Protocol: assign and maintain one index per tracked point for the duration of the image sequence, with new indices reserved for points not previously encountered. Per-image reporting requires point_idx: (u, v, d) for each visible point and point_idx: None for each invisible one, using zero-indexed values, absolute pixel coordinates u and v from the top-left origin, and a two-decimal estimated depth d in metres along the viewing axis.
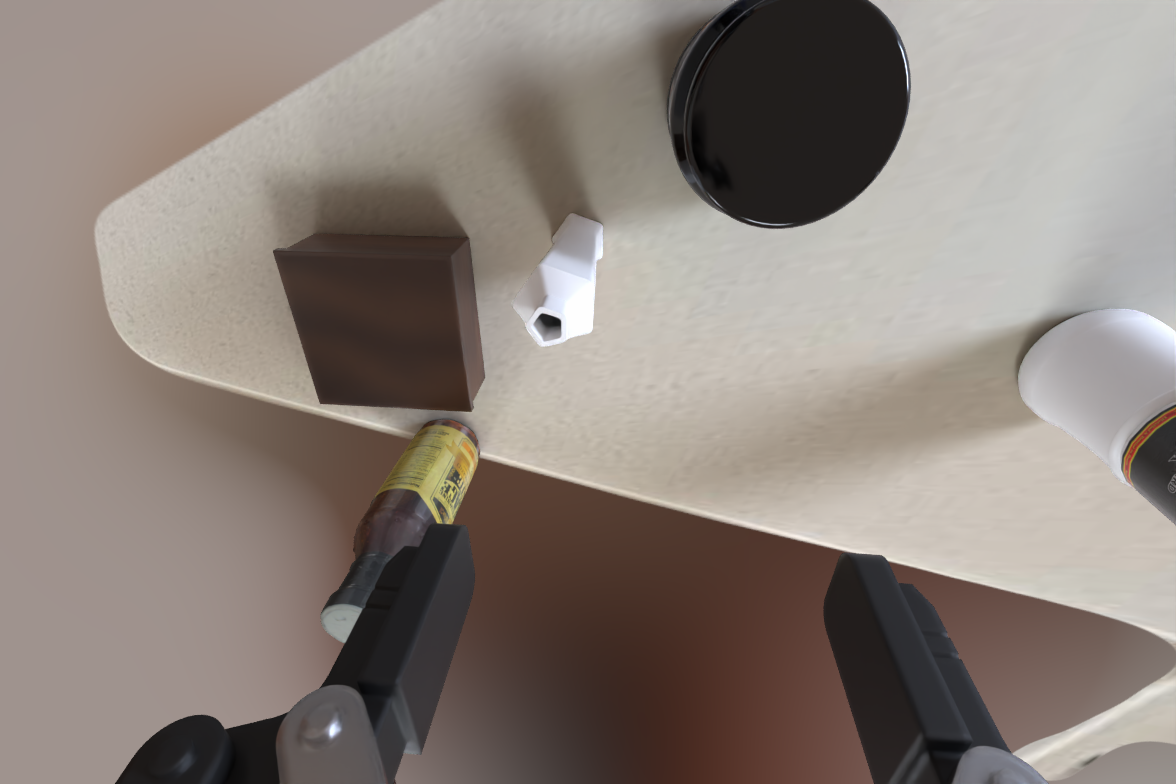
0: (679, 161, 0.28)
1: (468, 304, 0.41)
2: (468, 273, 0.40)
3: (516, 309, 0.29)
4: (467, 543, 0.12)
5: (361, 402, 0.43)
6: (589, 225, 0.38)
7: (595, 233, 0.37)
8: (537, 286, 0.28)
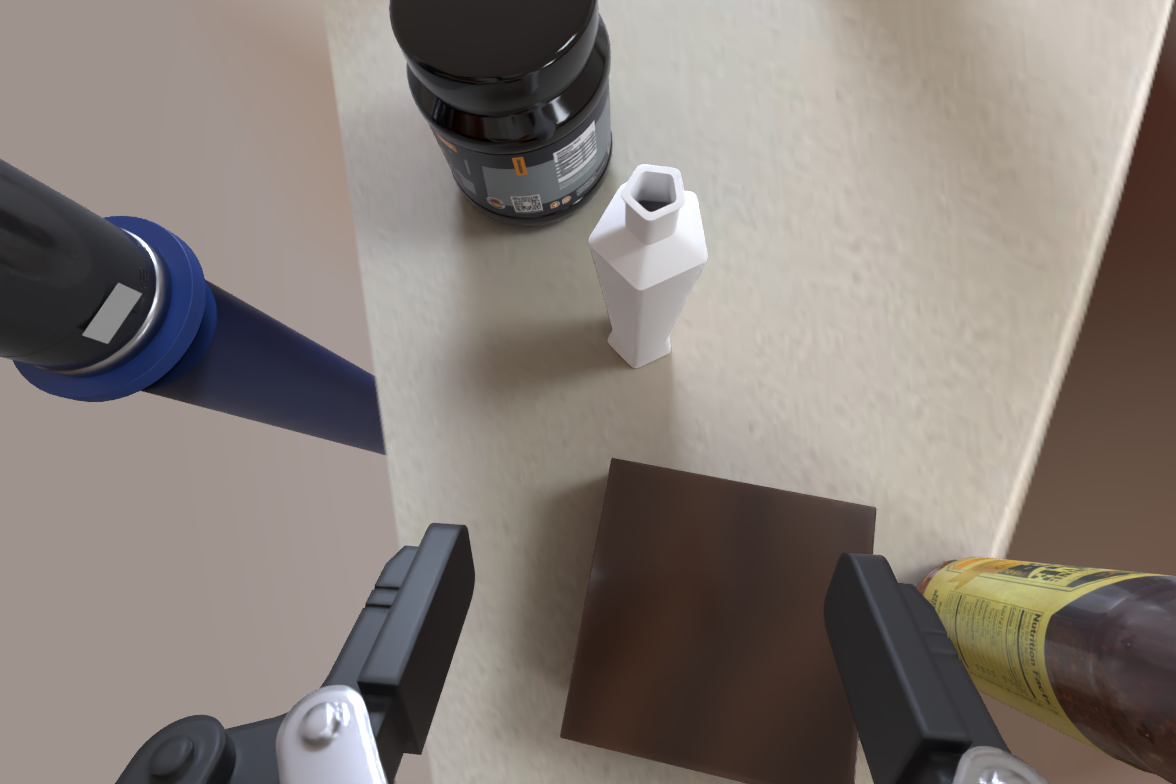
0: (529, 135, 0.26)
1: None
2: None
3: (647, 283, 0.20)
4: (467, 543, 0.12)
5: None
6: None
7: None
8: (614, 242, 0.20)
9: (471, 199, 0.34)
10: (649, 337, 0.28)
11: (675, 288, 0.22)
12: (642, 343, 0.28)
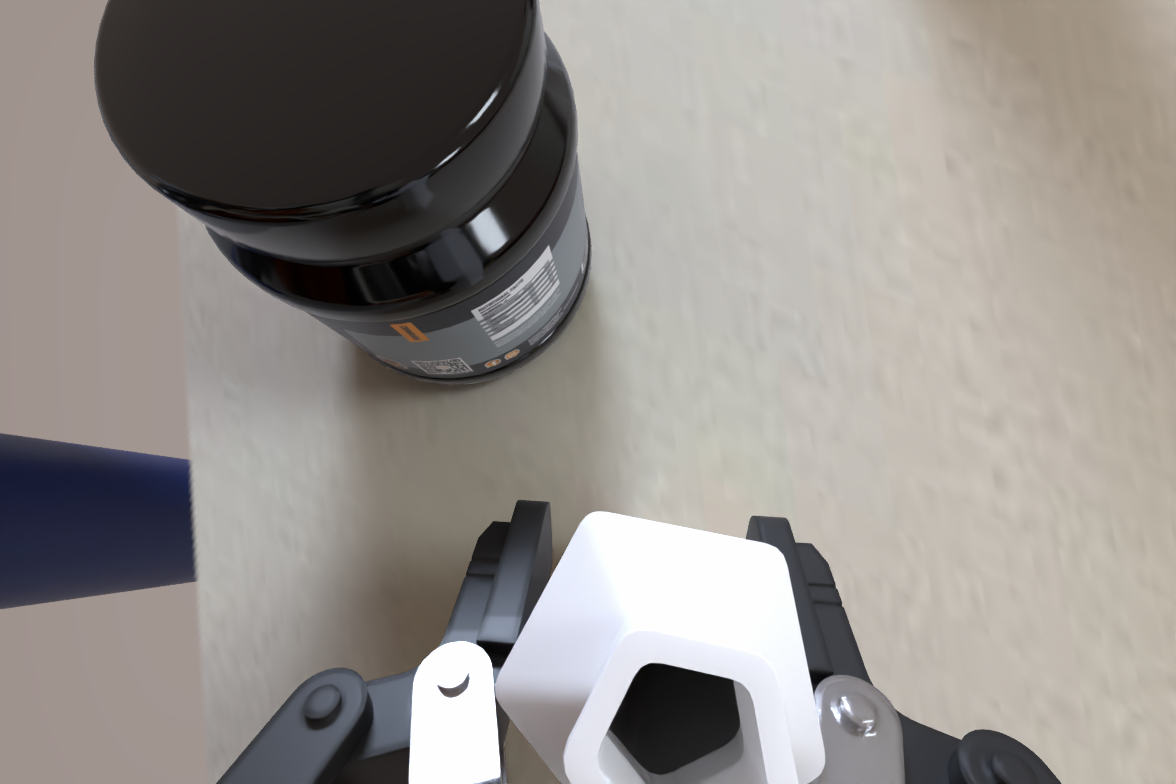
0: (411, 297, 0.13)
1: None
2: None
3: None
4: (549, 519, 0.12)
5: None
6: None
7: None
8: (562, 728, 0.07)
9: None
10: None
11: None
12: None
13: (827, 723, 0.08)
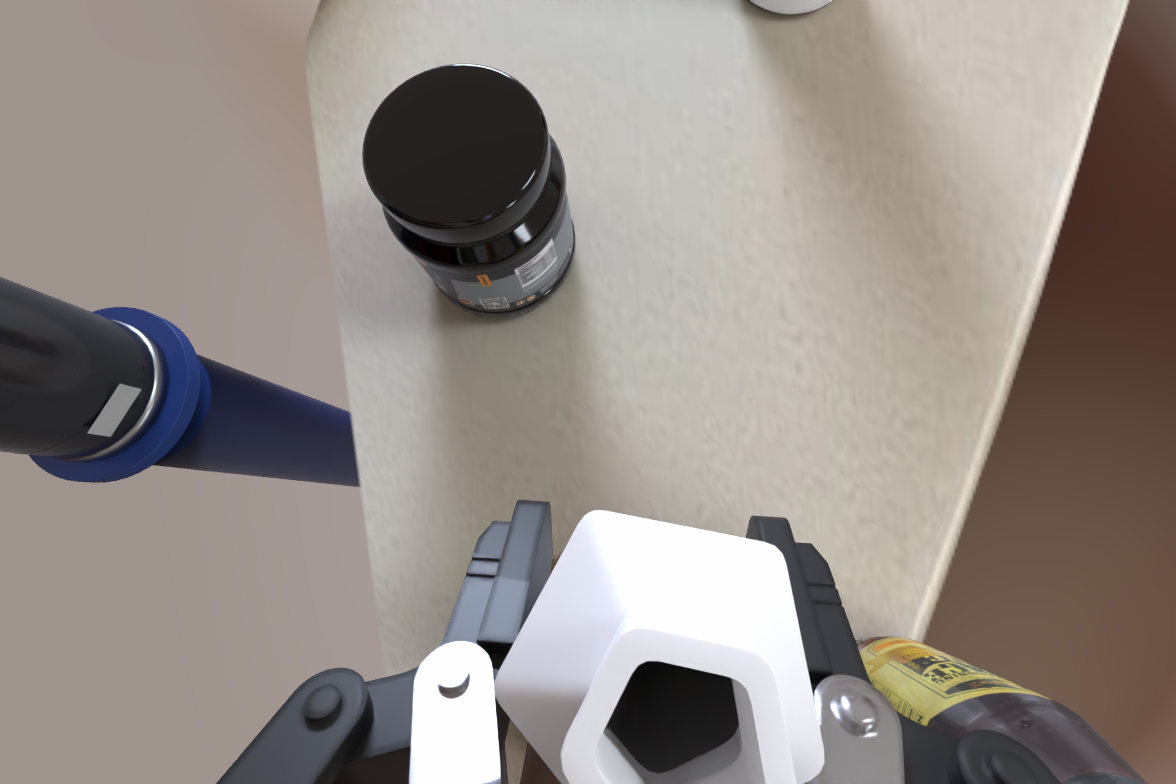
0: (490, 261, 0.29)
1: None
2: None
3: None
4: (550, 520, 0.12)
5: None
6: None
7: None
8: (561, 726, 0.07)
9: (444, 294, 0.36)
10: None
11: None
12: None
13: (827, 723, 0.08)
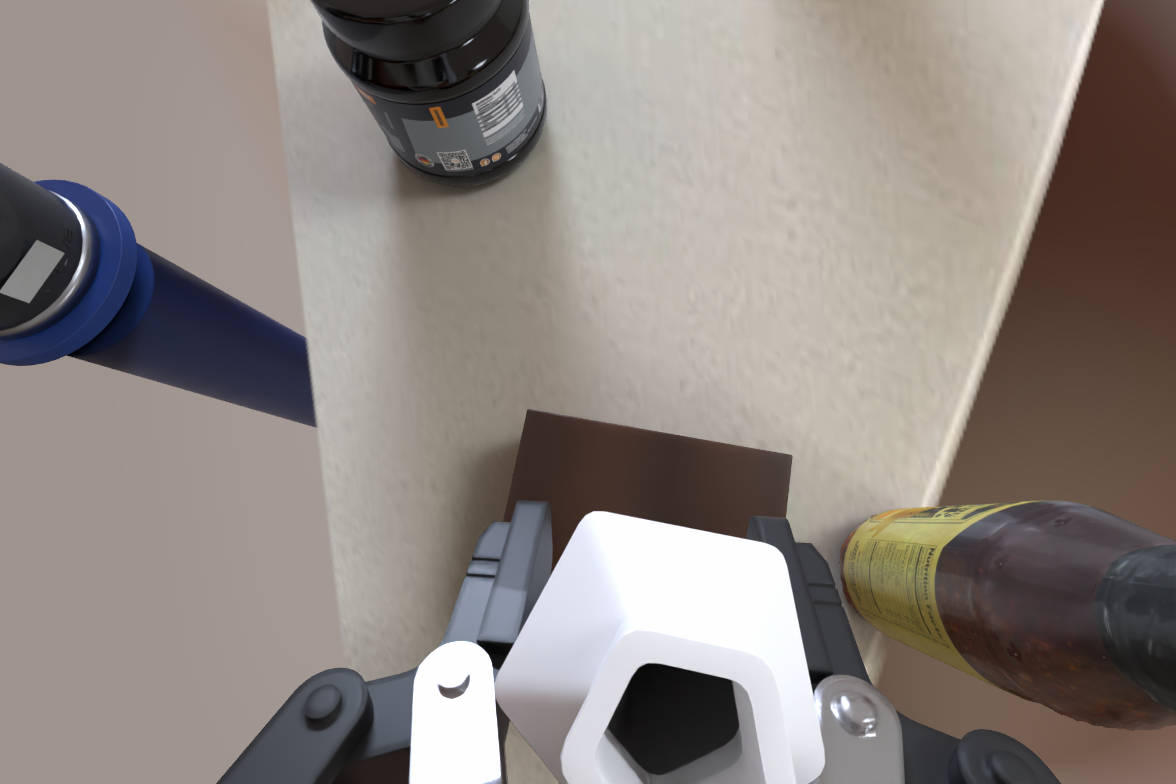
0: (441, 82, 0.26)
1: None
2: None
3: None
4: (550, 519, 0.12)
5: None
6: None
7: None
8: (561, 728, 0.07)
9: (403, 159, 0.33)
10: None
11: None
12: None
13: (827, 723, 0.08)
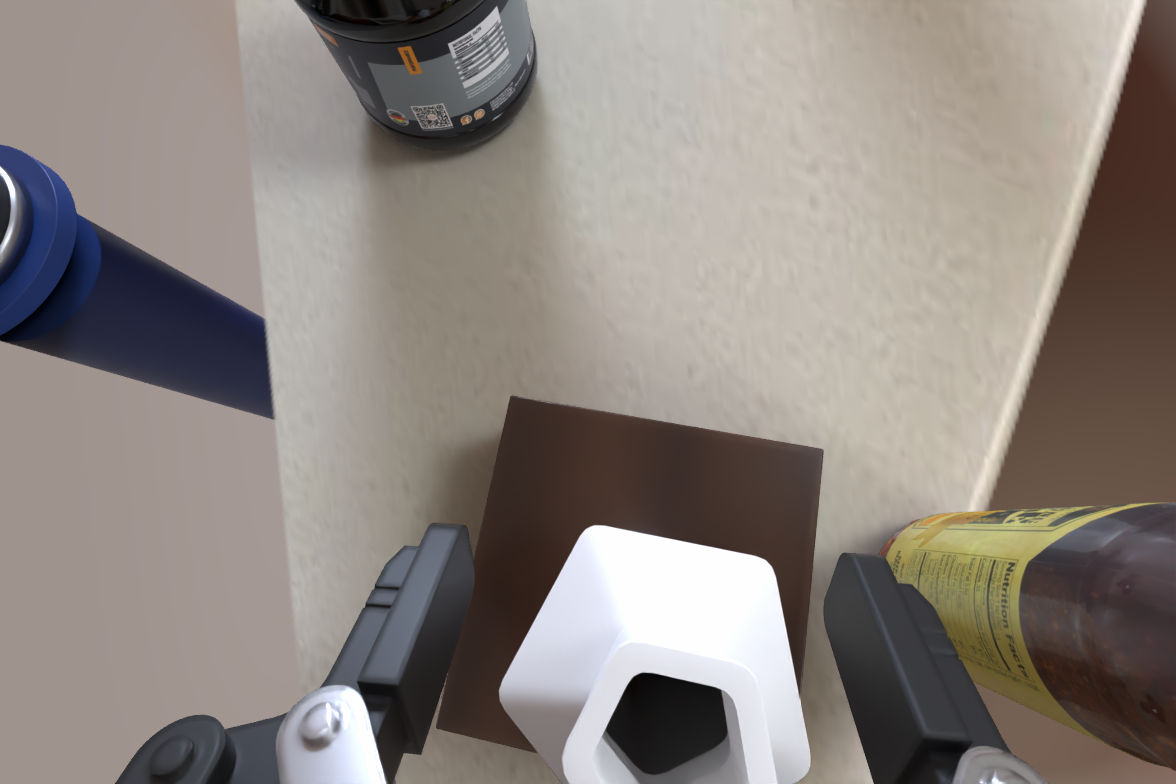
0: (410, 14, 0.22)
1: None
2: None
3: None
4: (467, 543, 0.12)
5: None
6: None
7: None
8: (562, 731, 0.08)
9: (375, 118, 0.29)
10: None
11: None
12: None
13: None
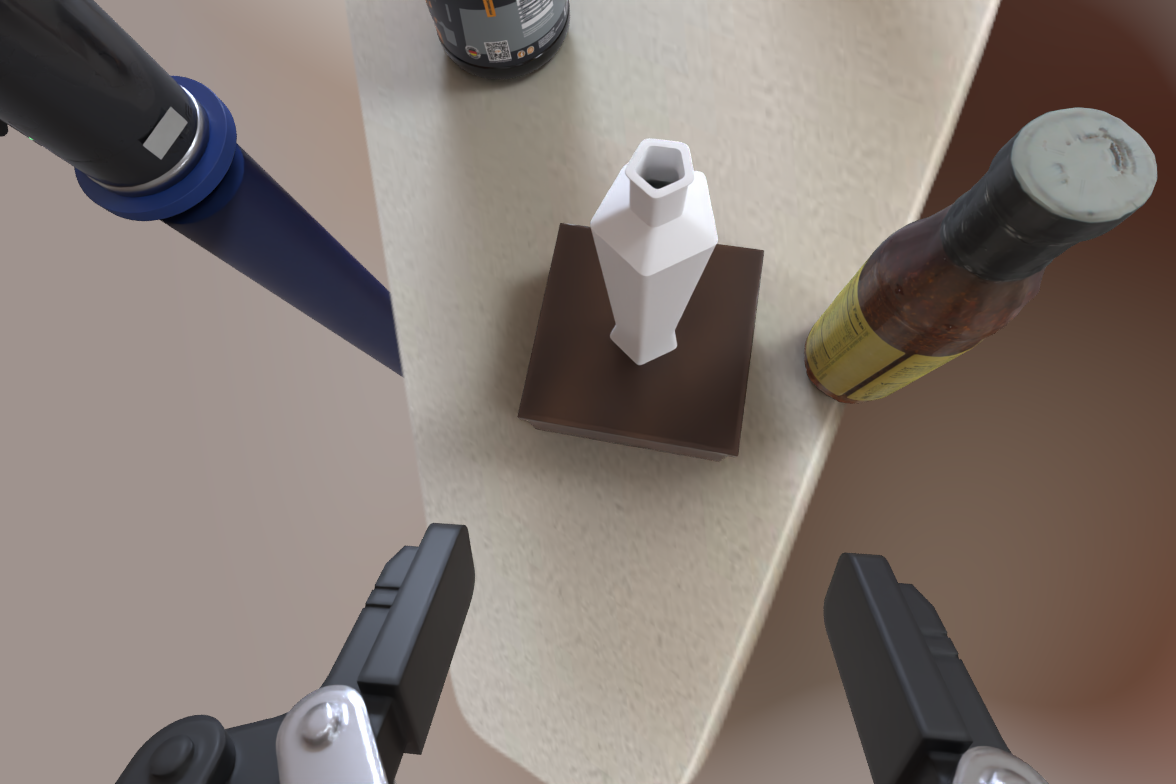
0: None
1: None
2: None
3: (653, 268, 0.19)
4: (467, 543, 0.12)
5: (740, 392, 0.30)
6: None
7: None
8: (618, 225, 0.19)
9: (453, 55, 0.41)
10: (654, 330, 0.27)
11: (683, 275, 0.21)
12: (647, 337, 0.27)
13: None
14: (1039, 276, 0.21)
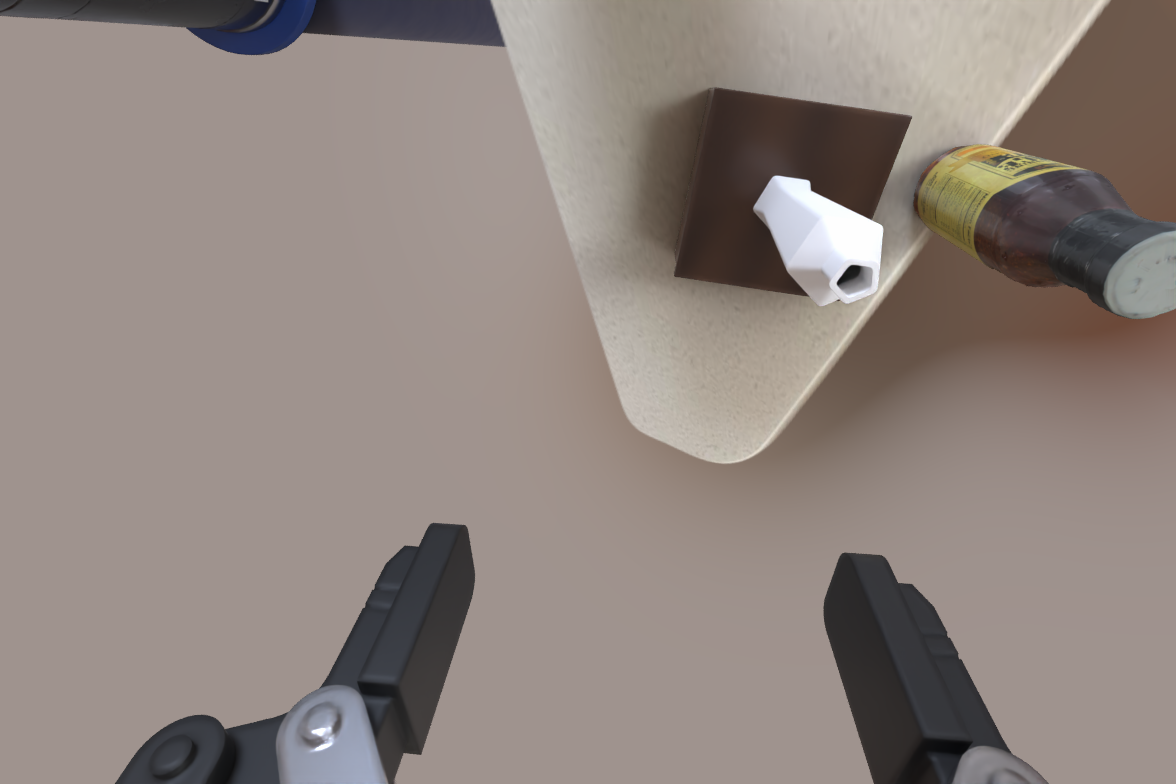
0: None
1: None
2: None
3: (827, 302, 0.28)
4: (467, 543, 0.12)
5: None
6: (770, 192, 0.36)
7: (780, 187, 0.35)
8: (808, 276, 0.27)
9: None
10: None
11: None
12: None
13: None
14: None
